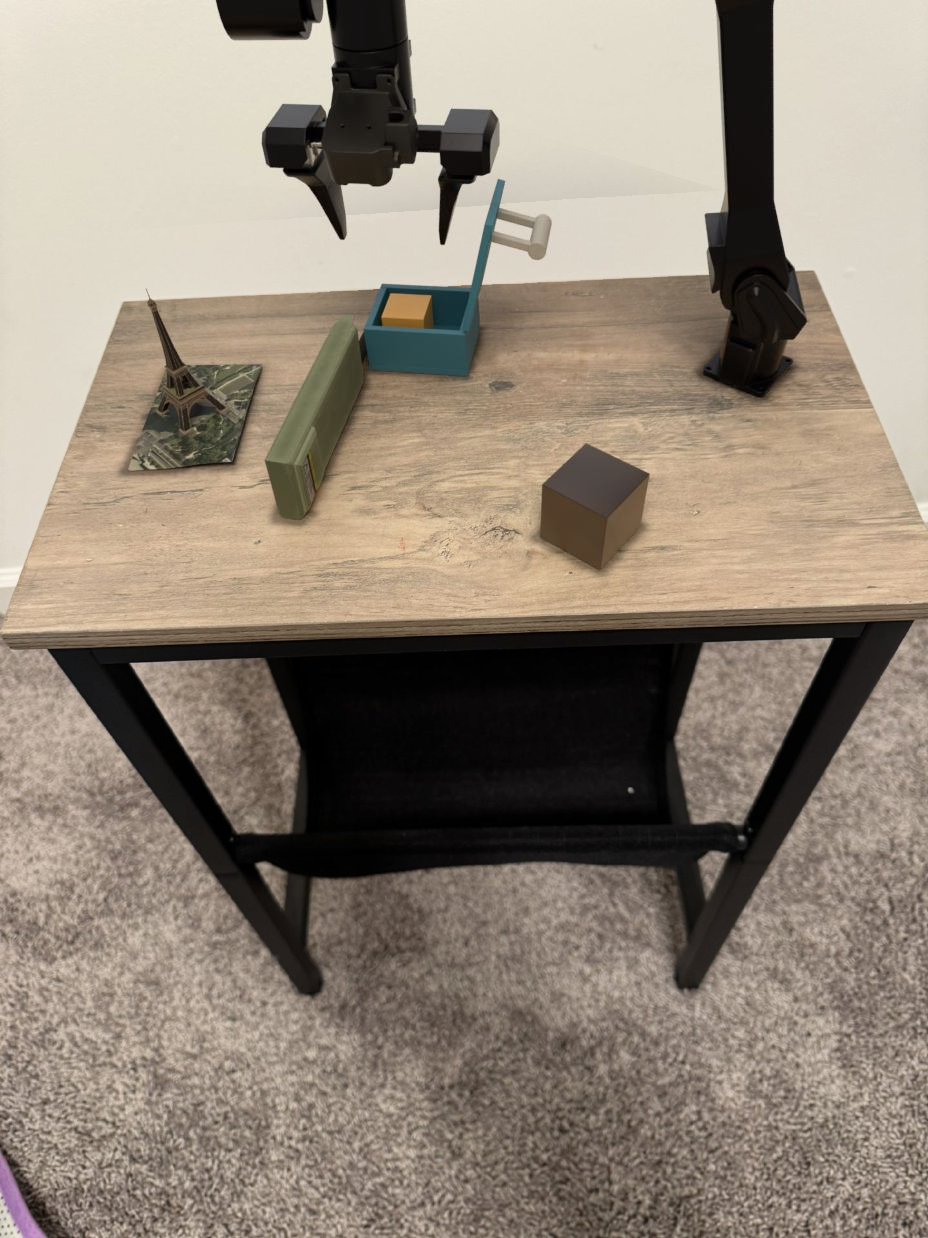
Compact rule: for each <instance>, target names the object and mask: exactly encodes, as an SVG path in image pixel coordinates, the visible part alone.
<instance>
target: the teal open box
mask: <svg viewBox="0 0 928 1238" xmlns="http://www.w3.org/2000/svg"><path fill="white" fill-rule="evenodd" d="M470 290H471V287H458V286H438V285H419V284H399V283H398V284H397V283H381V285H380V287H379V289H378V292H377V294H376V297H375V300H374V302H373V305H372V306H371V310H370V312H369V314H368V317H367V319H366V322H365V324H364V327H363V332H364V336H365V342H366V348H367V360H368V366H369V371H377V372H378V371H381V372H395V373H396V372H397V373H409V374H410V373H411V374H425V375H442V376H457V377H468V376H469V372H470V369H471V365H472V362H473V357H474V353H475V349H476V345H477V342H478V337H479V334H480V330H481V326H480V325H481V324H480V323H481V322H480V296H479V297H478V301H477V305H476V308H475V312H474V316H473V319H472V323H471V327H470V330H469V332H467V331H463V330H462V327H463V322H464V318H465V313H466V308H467V304H468V299H469V294H470ZM391 293H395V294H414V295H431V297H432V309H433V321H434V329H423V328H405V327H388V326H382V319H381V317H382V314H383V312H384V309H385V306H386V304H387V301H388V299H389V296H390V294H391Z"/></svg>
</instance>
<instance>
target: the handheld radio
mask: <svg viewBox="0 0 928 1238" xmlns="http://www.w3.org/2000/svg"><path fill="white" fill-rule="evenodd" d="M354 320H355V316H353V315H348V314H341V315H340V317H339V318H338V320H336V321H335V322H334V323H333V324H332V326H331V328H330V330H329V332H328V334H327V336H326V337H325V340H324V342H323V344H322V346H321V348H320V349H319V351H318V352H317V353H318V354H317V355H316V357H315V360H314V361H313V363H312V366H311V367H310V368H309V371H308V373H307V375H306V377H305V379H304V381H303V383H302V385H301V387H300V388H299V391H298V393H297V395H296V397H295V399H294V400H293V403H292V404H291V407H290V408H289V411H288V412H287V415H286V417H285V418H284V420H283V422H282V424H281V426H280V428H279V430H278V431H277V434H276V435H275V438H274V440H273V441H272V443H271V446H270V448H269V450H268V452H267V453H266V456H265V458H264V463H265V467H266V471H267V474H268V478H269V482H270V485H271V486H270V487H271V490H272V493H273V496H274V497H273V498H274V501H275V504H276V508H277V512H278V514H279V516H280V517H281V518H282V519H289V520H298V521H300V520H302V519H303V518H304V517H305V516H306V514H307V512H308V511H309V510H310V508H311V506H312V503H313V501H314V499H315V497H316V496H317V495H316V494H317V493H318V491H319V489H320V485H321V483H322V481H323V479H324V476H325V471H326V468H327V466H328V464H329V462H330V460H331V457H332V455H333V452H334V451H335V447H337V444H338V441H339V439H340V437H341V435H342V432H343V430H344V428H345V426H346V423H347V421H348V418H349V416H350V414H351V412H352V410H353V407H354V405H355V403H356V400H357V398H358V395H359V393H360V391H361V390H362V387H363V385H364V382H365V381H364V380H365V378H364V371H363V364H364V362H365V360H366V357H367V356H368V354H367V348H366V342H365V336H364V331H363V332H362V333H361V336H360V337H359V331H358V328H357V326H356V324H355V323H354Z"/></svg>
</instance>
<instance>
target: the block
mask: <svg viewBox="0 0 928 1238" xmlns="http://www.w3.org/2000/svg"><path fill="white" fill-rule="evenodd" d="M381 319H382V326H388V327H405V328H423V329H434V321H433V309H432V297H431V295H414V294H395V293H391V294H390V296H389V299H388V301H387V304H386V306H385V309H384V312H383V314H382V317H381Z"/></svg>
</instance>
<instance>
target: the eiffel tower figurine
mask: <svg viewBox="0 0 928 1238" xmlns="http://www.w3.org/2000/svg"><path fill="white" fill-rule="evenodd" d="M145 291H146V293H147V296H148V301H147V302H146V303H147V307H148V308H149V309H150V311H151V314H152V318H153V321H154V324H155V327H156V331H157V334H158V337H159V341H160V345H161V347H162V351H163V352H162V353H163V356H164V360H165V361H164V362H165V365H164V368H165V370H164V372H163V376H162V379H161V381H160V384H159V386H158V389H157V391H156V395H155V397H154V399H153V402H152V404H151V407H150V409H149V412H148V413H147V417H146V419H145V421H144V425H143V427H142V429H141V433H140V435H139V437H138V441H137V443H136V446H135V449H134V451H133V455H132V457H131V460H130V463H129V465H128V468H127V472H133V471H134V472H135V471H147V470H164V469H175V468H184V467H189V466H196V465H203V464H204V465H205V464H217V463H231V462H233V461H234V457H235V453H236V450H237V447H238V444H239V441H240V439H241V434H242V431H243V429H244V424H245V420H246V417H247V413H248V409H249V406H250V402H251V400H252V396H253V393H254V389H255V386H256V383H257V380H258V378H259V375H260V373H261V369H262V366H263V364H262V363H259V364H258V363H257V364H255V363H252V364H251V363H250V364H247V363H245V364H186V363H185V362H184V361H183V360H182V359H181V357H180V354H179V353H178V352H177V349H176V347H175V345H174V343H173V341H172V339H171V337H170V334H169V332H168V330H167V328H166V326H165V323H164V321H163V319H162V317H161V315H160V313H159V310H158V304H157V303H156V301H155V300H153V299H152V298H151V297H150V294H149V292H148V288H145Z"/></svg>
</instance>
